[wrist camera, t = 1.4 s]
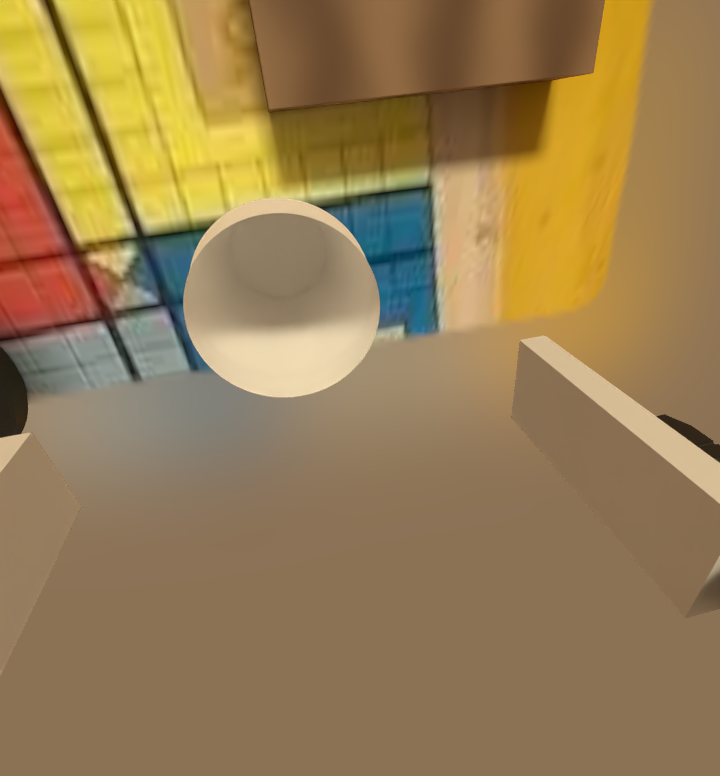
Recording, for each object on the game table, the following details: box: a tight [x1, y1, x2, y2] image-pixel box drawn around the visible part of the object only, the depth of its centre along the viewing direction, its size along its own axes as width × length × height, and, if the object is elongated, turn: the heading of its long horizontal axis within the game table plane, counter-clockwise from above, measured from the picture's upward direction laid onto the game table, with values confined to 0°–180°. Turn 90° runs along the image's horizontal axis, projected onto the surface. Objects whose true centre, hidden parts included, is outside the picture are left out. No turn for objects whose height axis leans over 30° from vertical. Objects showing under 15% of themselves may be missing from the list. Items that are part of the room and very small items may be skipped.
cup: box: [183, 198, 380, 398], centre depth 24 cm, size 9×9×12 cm
